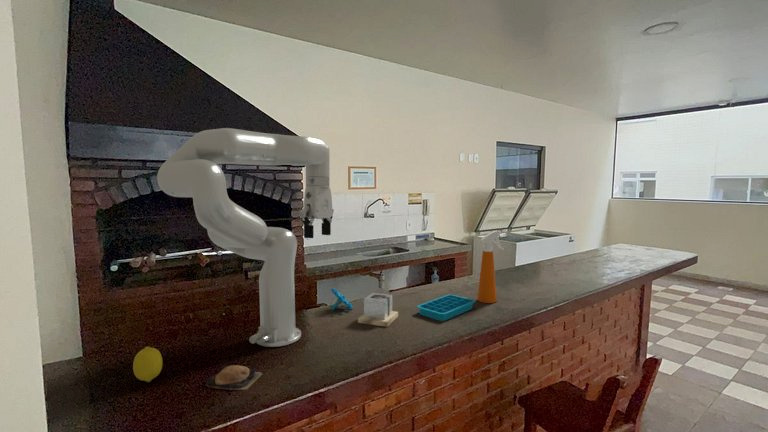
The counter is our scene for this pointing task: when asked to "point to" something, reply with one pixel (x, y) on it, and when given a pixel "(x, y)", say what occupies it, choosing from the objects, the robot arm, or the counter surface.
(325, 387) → the counter surface
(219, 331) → the counter surface
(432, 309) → the ice cube tray
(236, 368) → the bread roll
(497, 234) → the spray bottle
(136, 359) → the lemon
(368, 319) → the keyed post stand
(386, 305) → the grey hollow block
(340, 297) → the gear
